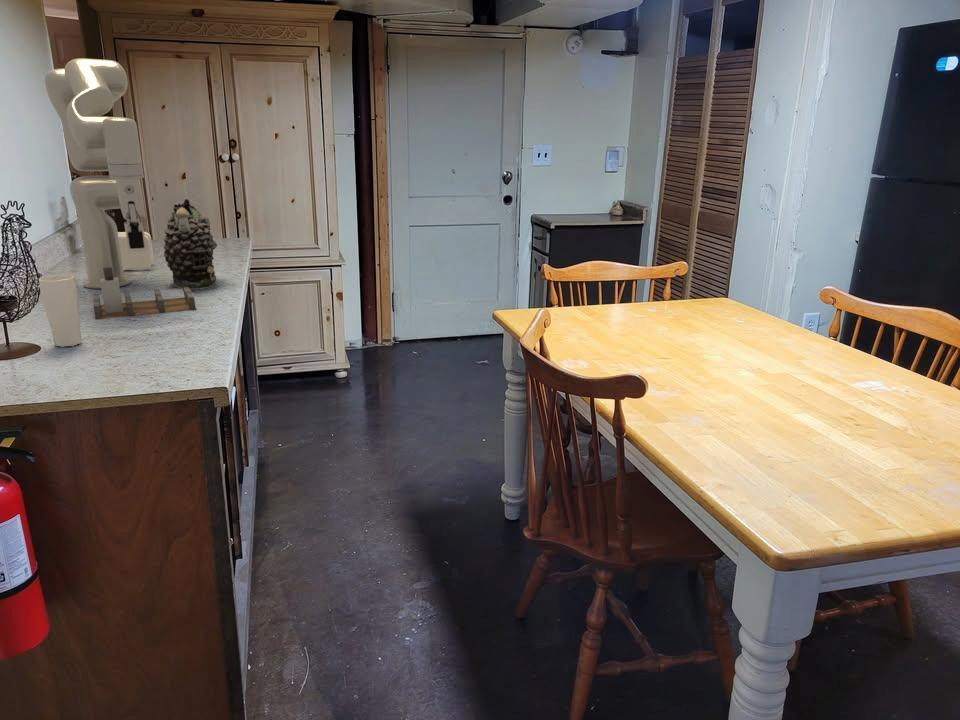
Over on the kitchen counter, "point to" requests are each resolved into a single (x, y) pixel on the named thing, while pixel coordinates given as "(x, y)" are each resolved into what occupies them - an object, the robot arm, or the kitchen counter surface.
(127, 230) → the cream plug
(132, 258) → the cable organizer
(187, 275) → the decorative house
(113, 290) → the grey plug
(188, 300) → the wooden divided tray
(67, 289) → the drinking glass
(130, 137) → the robot arm
